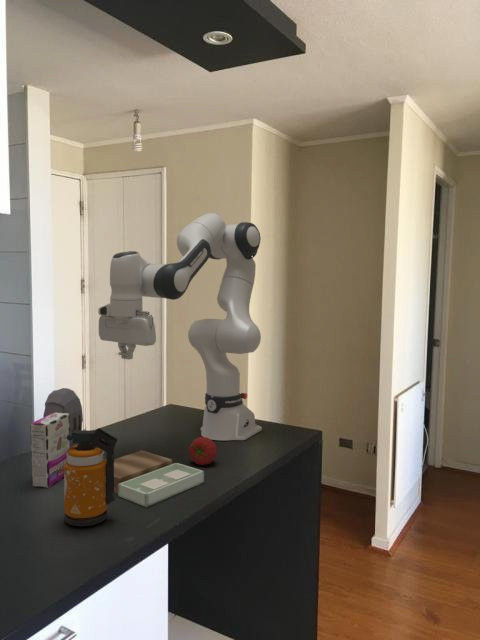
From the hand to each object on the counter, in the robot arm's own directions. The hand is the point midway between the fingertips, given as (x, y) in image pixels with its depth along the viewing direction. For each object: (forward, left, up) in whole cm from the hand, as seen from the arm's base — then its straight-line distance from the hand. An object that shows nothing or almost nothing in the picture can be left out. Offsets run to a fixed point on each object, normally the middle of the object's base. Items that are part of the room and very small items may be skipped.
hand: (127, 358), depth 154 cm
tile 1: (+12, +24, -27) cm, 38 cm away
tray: (+8, +22, -30) cm, 38 cm away
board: (+8, +11, -30) cm, 32 cm away
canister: (+30, +23, -30) cm, 48 cm away
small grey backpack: (+8, -18, -30) cm, 36 cm away
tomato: (-12, +18, -30) cm, 37 cm away
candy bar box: (+22, -4, -30) cm, 37 cm away
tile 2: (+4, +24, -27) cm, 36 cm away
